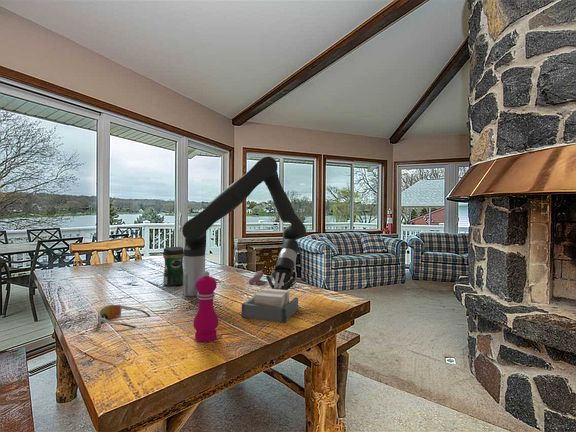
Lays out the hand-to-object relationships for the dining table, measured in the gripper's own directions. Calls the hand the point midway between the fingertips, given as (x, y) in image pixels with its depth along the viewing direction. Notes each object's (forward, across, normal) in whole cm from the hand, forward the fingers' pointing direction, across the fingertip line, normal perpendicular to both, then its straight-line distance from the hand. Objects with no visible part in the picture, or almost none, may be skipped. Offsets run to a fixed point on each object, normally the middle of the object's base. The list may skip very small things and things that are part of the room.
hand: (275, 298), depth 124 cm
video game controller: (-23, -24, +29) cm, 44 cm away
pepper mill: (+26, -10, -20) cm, 34 cm away
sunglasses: (+24, -44, -18) cm, 53 cm away
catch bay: (+6, 0, 0) cm, 6 cm away
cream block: (+7, +1, -1) cm, 7 cm away
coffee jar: (-10, -61, +16) cm, 64 cm away
